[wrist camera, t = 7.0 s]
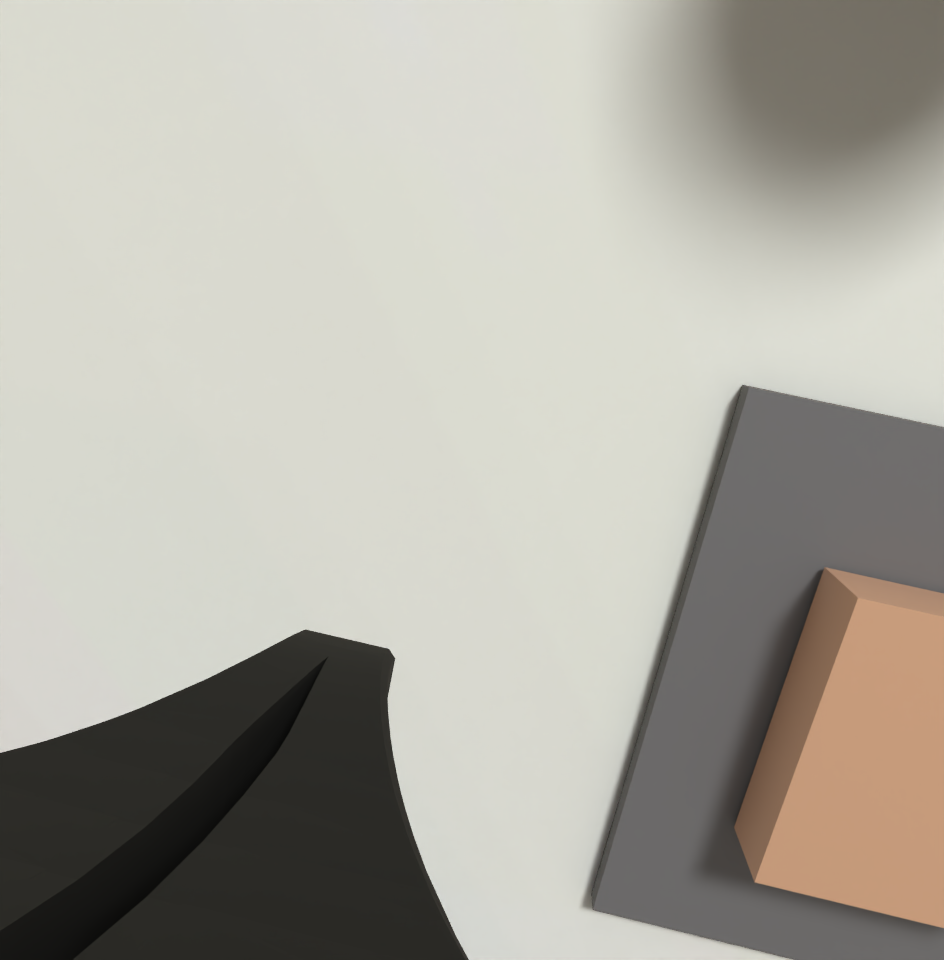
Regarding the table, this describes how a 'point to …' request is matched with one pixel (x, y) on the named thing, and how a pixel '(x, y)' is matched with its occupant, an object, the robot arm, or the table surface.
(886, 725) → the tile
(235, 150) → the table surface
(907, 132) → the table surface
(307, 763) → the robot arm
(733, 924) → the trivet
